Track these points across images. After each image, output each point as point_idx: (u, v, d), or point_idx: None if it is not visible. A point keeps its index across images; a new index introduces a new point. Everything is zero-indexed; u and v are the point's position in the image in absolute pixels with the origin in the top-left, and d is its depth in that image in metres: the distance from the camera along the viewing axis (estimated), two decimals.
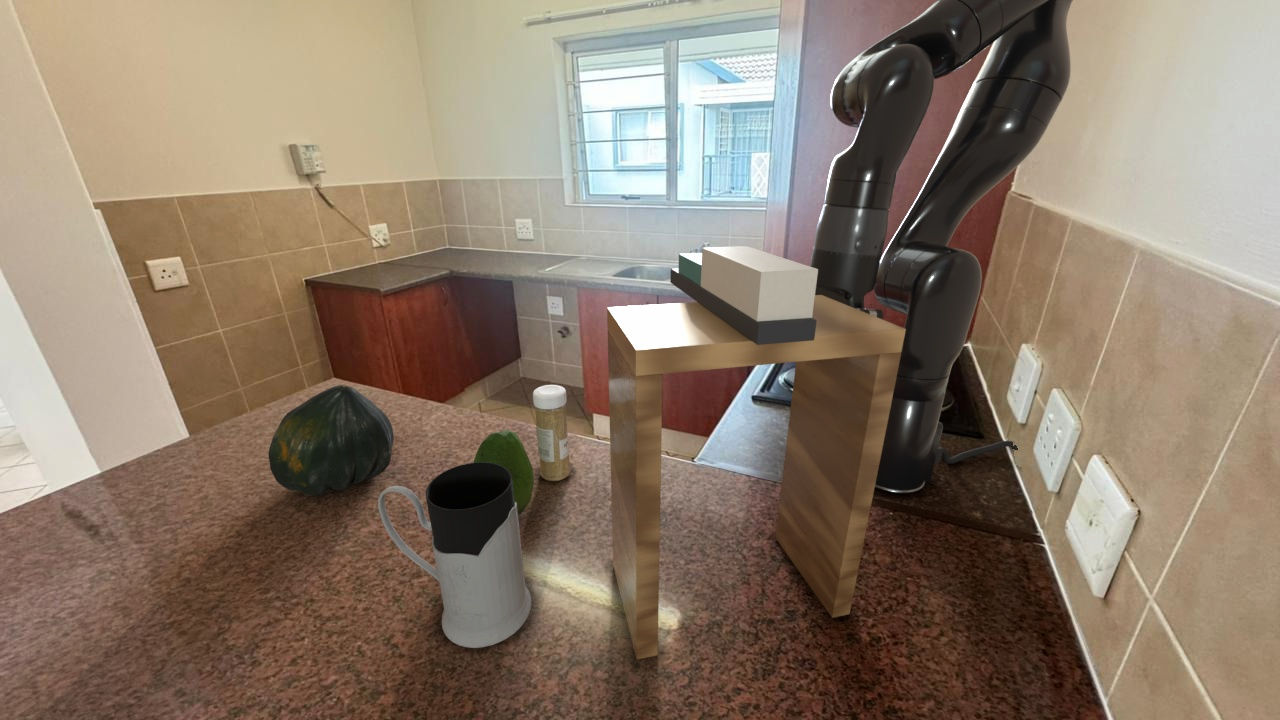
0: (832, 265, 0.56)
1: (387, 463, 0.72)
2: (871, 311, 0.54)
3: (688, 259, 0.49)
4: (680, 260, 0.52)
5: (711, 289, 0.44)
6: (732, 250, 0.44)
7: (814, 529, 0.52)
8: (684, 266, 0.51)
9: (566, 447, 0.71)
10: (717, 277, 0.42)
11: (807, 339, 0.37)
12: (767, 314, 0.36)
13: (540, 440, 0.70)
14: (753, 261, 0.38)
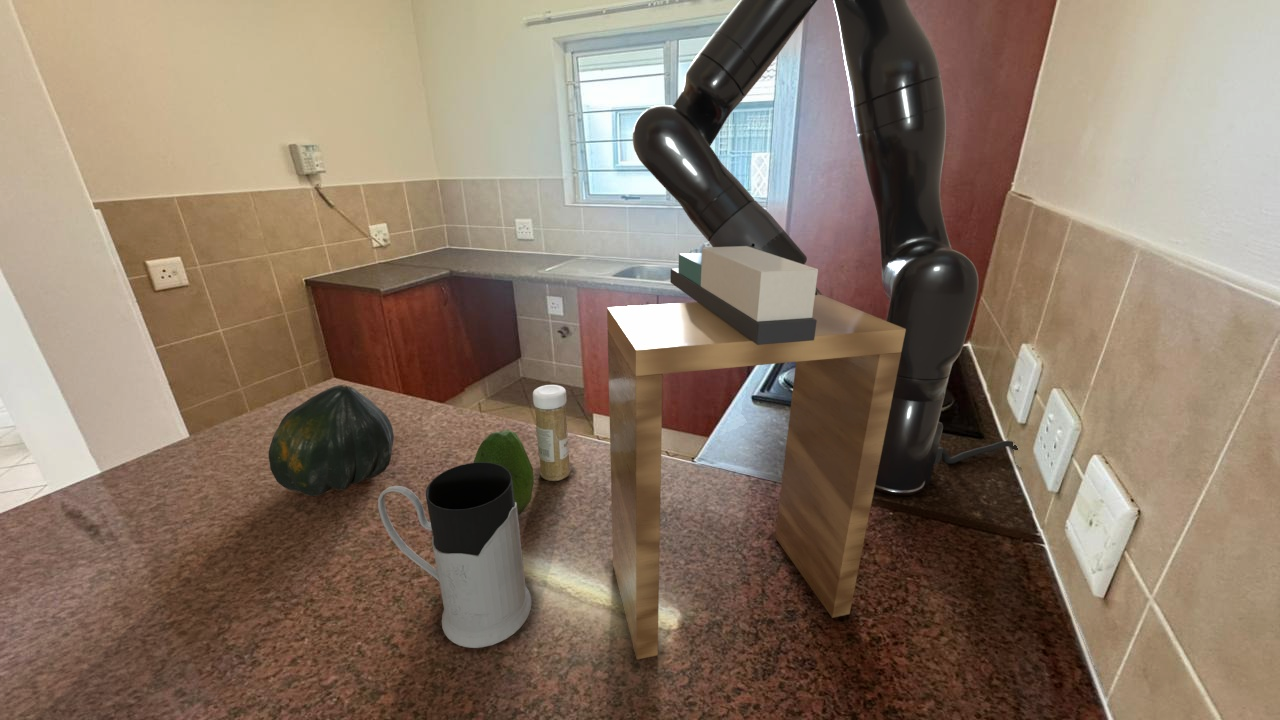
0: None
1: (387, 463, 0.72)
2: None
3: (688, 259, 0.49)
4: (680, 260, 0.52)
5: (711, 289, 0.44)
6: (732, 250, 0.44)
7: (814, 529, 0.52)
8: (684, 266, 0.51)
9: (566, 447, 0.71)
10: (717, 277, 0.42)
11: (807, 339, 0.37)
12: (767, 314, 0.36)
13: (540, 440, 0.70)
14: (753, 261, 0.38)
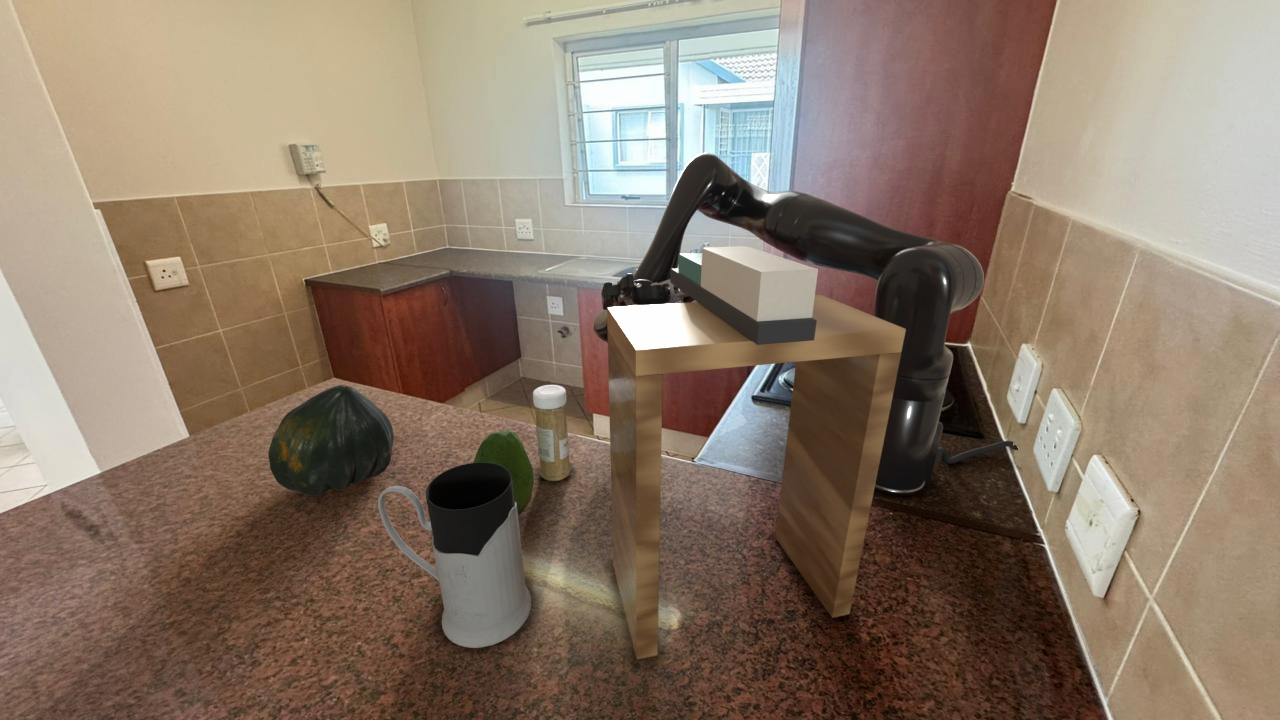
0: None
1: (387, 463, 0.72)
2: (603, 303, 0.75)
3: (688, 259, 0.49)
4: (680, 260, 0.52)
5: (711, 289, 0.44)
6: (732, 250, 0.44)
7: (814, 529, 0.52)
8: (684, 266, 0.51)
9: (566, 447, 0.71)
10: (717, 277, 0.42)
11: (807, 339, 0.37)
12: (767, 314, 0.36)
13: (540, 440, 0.70)
14: (753, 261, 0.38)
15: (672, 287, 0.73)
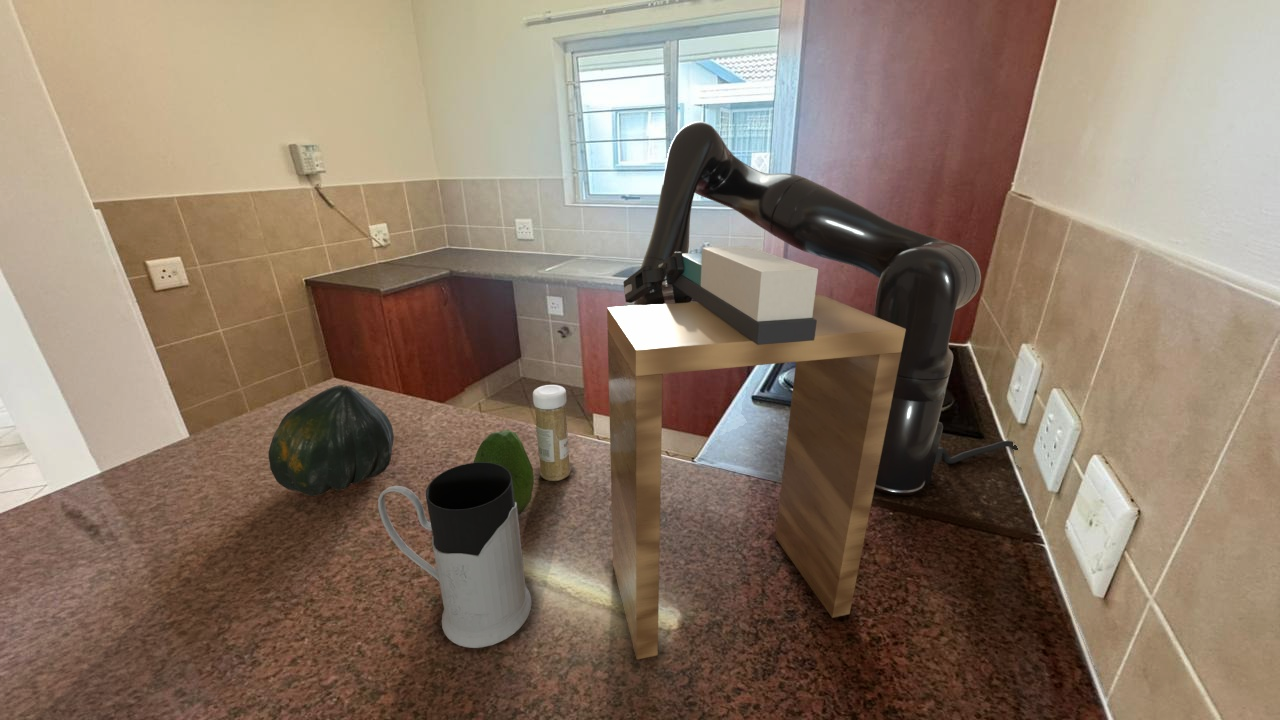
0: None
1: (387, 463, 0.72)
2: (625, 293, 0.59)
3: (688, 259, 0.49)
4: None
5: (711, 289, 0.44)
6: (732, 250, 0.44)
7: (814, 529, 0.52)
8: (684, 266, 0.51)
9: (566, 447, 0.71)
10: (717, 277, 0.42)
11: (807, 339, 0.37)
12: (767, 314, 0.36)
13: (540, 440, 0.70)
14: (753, 261, 0.38)
15: None
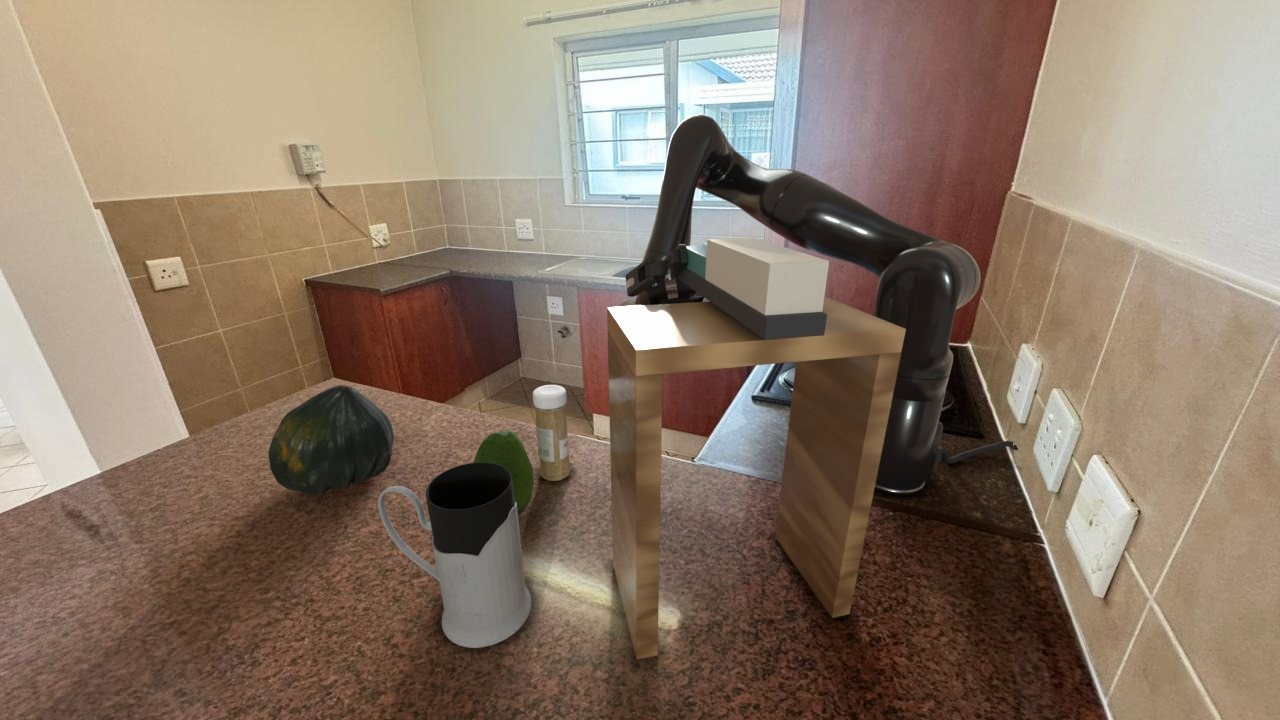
0: None
1: (387, 463, 0.72)
2: (627, 287, 0.58)
3: (692, 251, 0.48)
4: None
5: (716, 282, 0.42)
6: (738, 242, 0.42)
7: (814, 529, 0.52)
8: (688, 258, 0.49)
9: (566, 447, 0.71)
10: (722, 270, 0.41)
11: (817, 334, 0.35)
12: (776, 308, 0.34)
13: (540, 440, 0.70)
14: (761, 253, 0.37)
15: None
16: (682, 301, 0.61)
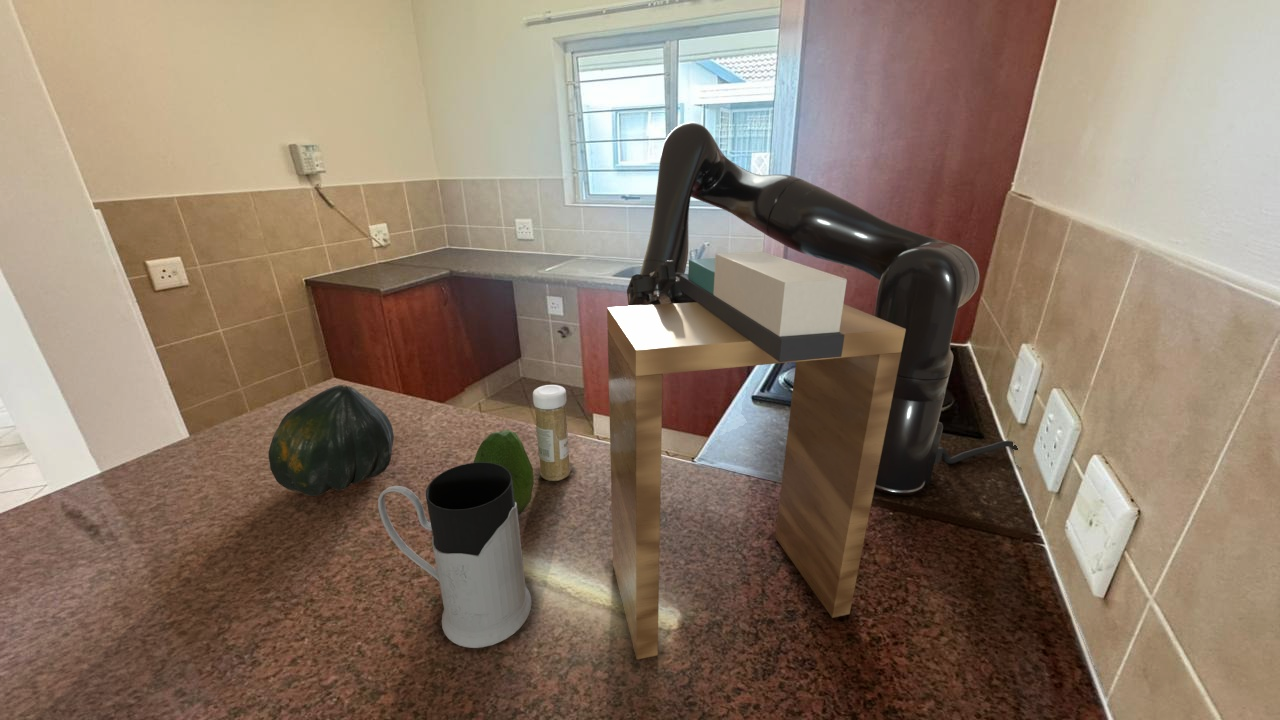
0: None
1: (387, 463, 0.72)
2: None
3: (699, 265, 0.46)
4: (690, 266, 0.49)
5: (725, 298, 0.41)
6: (748, 256, 0.40)
7: (814, 529, 0.52)
8: (695, 272, 0.47)
9: (566, 447, 0.71)
10: (732, 286, 0.39)
11: (834, 355, 0.33)
12: (790, 328, 0.33)
13: (540, 440, 0.70)
14: (773, 269, 0.35)
15: None
16: None
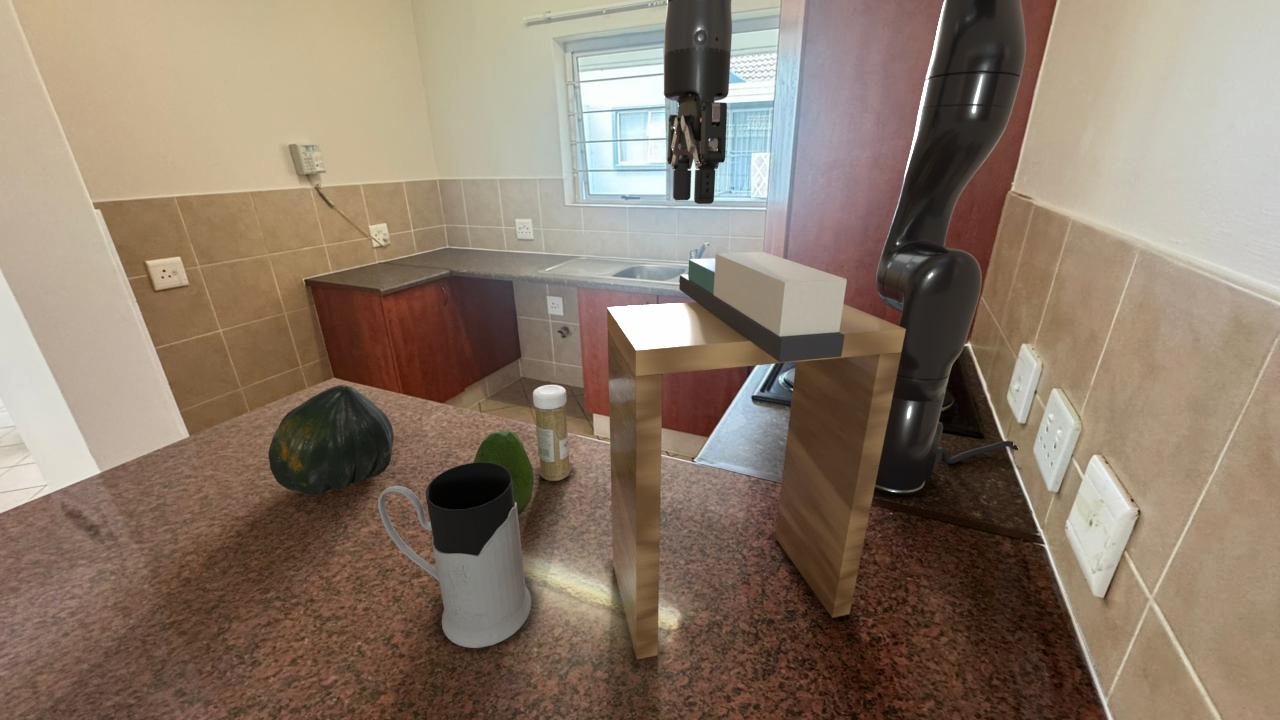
0: (676, 65, 0.55)
1: (387, 463, 0.72)
2: (714, 103, 0.53)
3: (699, 265, 0.46)
4: (690, 266, 0.49)
5: (725, 298, 0.41)
6: (748, 256, 0.40)
7: (814, 529, 0.52)
8: (695, 272, 0.47)
9: (566, 447, 0.71)
10: (732, 286, 0.39)
11: (834, 355, 0.33)
12: (790, 328, 0.33)
13: (540, 440, 0.70)
14: (773, 269, 0.35)
15: (688, 153, 0.63)
16: (680, 99, 0.58)
